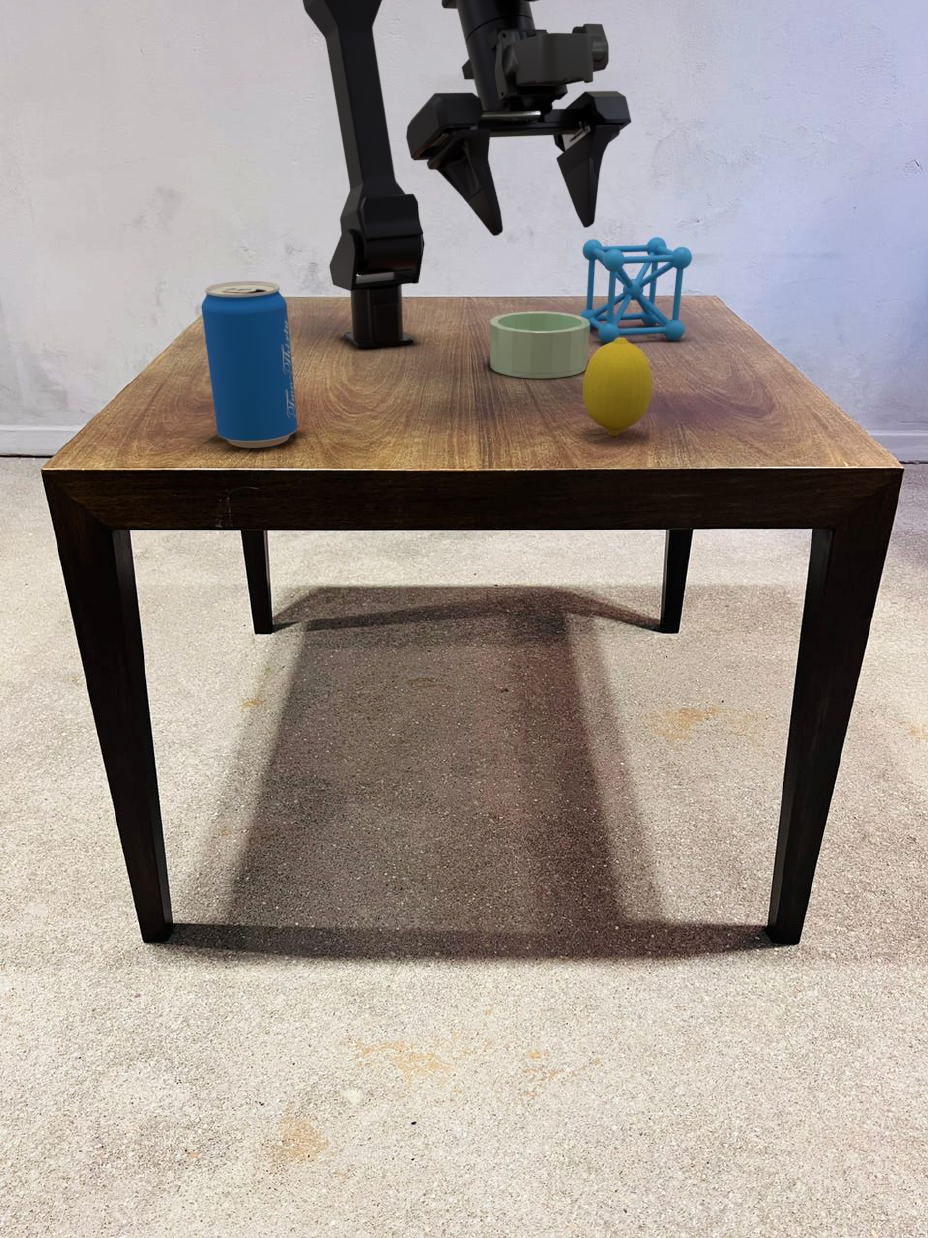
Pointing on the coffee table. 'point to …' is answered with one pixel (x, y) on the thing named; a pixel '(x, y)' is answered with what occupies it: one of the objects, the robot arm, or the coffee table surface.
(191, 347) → the coffee table surface
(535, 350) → the collar
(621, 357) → the lemon
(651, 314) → the molecular structure
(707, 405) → the coffee table surface
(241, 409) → the beverage can
